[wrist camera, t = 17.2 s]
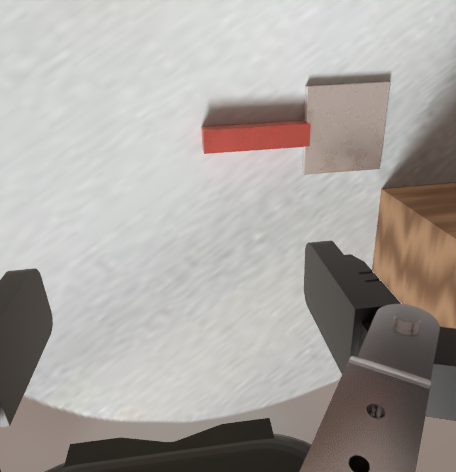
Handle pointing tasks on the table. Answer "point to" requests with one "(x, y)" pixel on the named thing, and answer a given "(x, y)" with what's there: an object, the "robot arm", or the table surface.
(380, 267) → the stand
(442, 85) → the table surface
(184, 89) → the table surface
